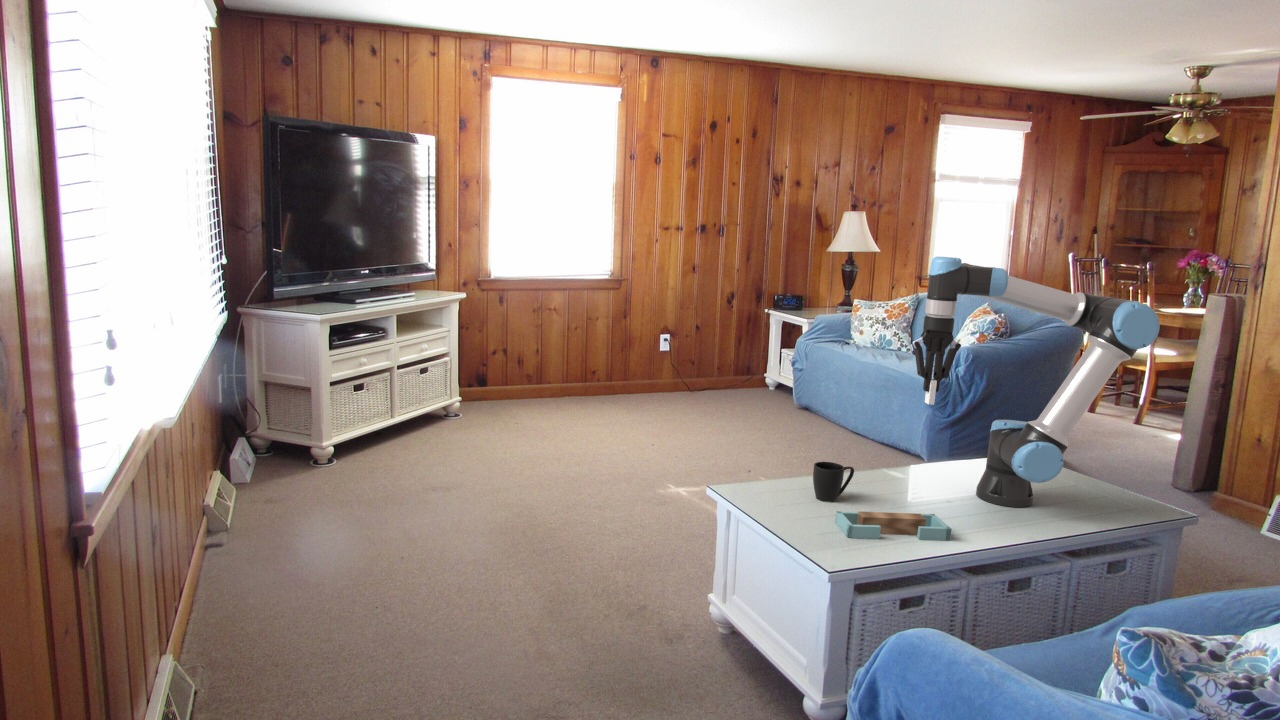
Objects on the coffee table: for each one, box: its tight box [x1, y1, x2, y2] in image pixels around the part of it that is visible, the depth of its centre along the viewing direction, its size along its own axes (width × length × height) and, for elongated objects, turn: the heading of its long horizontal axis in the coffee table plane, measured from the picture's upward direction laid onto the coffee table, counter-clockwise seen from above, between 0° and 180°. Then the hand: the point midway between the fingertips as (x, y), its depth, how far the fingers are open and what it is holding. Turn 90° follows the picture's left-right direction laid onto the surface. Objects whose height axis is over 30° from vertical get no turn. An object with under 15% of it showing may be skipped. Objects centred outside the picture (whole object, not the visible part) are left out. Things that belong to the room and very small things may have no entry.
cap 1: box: [834, 510, 881, 540], centre depth 215 cm, size 8×10×3 cm
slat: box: [857, 511, 926, 536], centre depth 216 cm, size 16×4×4 cm, turn 93°
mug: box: [812, 461, 855, 503], centre depth 238 cm, size 8×12×10 cm
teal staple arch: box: [914, 512, 953, 541], centre depth 216 cm, size 8×10×3 cm
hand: (929, 403), depth 230 cm, fingers closed
